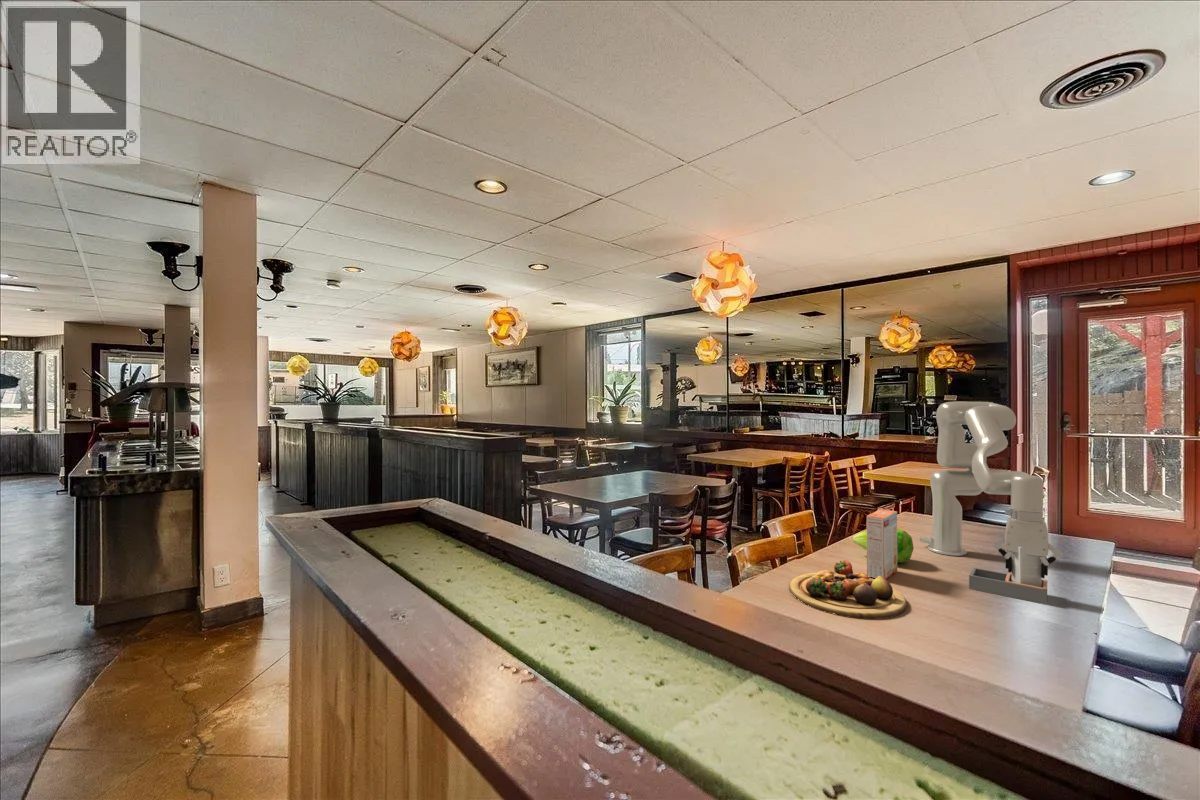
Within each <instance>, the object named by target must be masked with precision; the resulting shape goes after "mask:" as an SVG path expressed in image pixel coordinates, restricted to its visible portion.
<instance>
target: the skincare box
mask: <svg viewBox="0 0 1200 800" xmlns="http://www.w3.org/2000/svg"><path fill="white" fill-rule="evenodd" d="M1018 552H1019V553H1013V554H1012V555H1011V559H1012V571H1011V574H1012V582H1015V583H1021V584H1026V585H1031V586H1036V587H1042V579H1043V578H1041V565H1042V560H1041V559H1040V557H1038V556H1031V555H1026V554H1024V548H1023V547H1018Z"/></svg>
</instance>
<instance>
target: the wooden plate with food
mask: <svg viewBox="0 0 1200 800" xmlns="http://www.w3.org/2000/svg"><path fill="white" fill-rule="evenodd" d="M833 568H834V571H833V570H829V569H822V570H819V571H817V572H810V573H809V572H808V573H803V574H800V575H798V576H795V577H794V578H792V580H791V581H790V583H789V585H788V590H789V593H790V594H791V593H792V594H793V595H794V596H795V597H796V598H797V599H799V600H800V601H802V602H803V603H802V602H801V603H802V604H804V603H805V604H804V605H806V604H807V605H806V606H808V605H809V606H808V607H810V606H811V607H810V608H812V607H814V608H813V609H815V608H816V609H815V610H818V609H819V610H818V611H821V610H822V611H821V612H824V611H826V612H825V613H828V612H831V613H835V614H839V615H838V616H840V615H844V616H843V617H846V616H849V617H848V618H853V617H854V619H863V618H866V620H867V619H868V620H876V618H882V619H887V618H886V617H889V618H892V617H891V616H893V617H896V616H899V615H901V614H902V613H903V612H904V611H905V610H906V608H907V601H906V598H905V595H904V594H903V593H901V592H900V591H899V590H898V589H896V588H895V587H893V586H892V585H891V583H890V582H889V581H888V579H887V580H886V579H885V578H883V577H881V576H878V577H877V578H875V579H873V578H869V577H868V576H867V573H861V572H857V573H854V571H853V566H852V564H851V562H850V561H848V560H846V559H844V560H840V561H839V562H835V564H834V567H833ZM792 594H791V595H792ZM793 595H792V596H793ZM794 596H793V597H794ZM795 597H794V598H795ZM796 598H795V599H796ZM797 599H796V600H797ZM800 601H799V602H800ZM831 613H830V614H831ZM835 614H834V615H835ZM898 614H899V615H898ZM895 615H896V616H895Z"/></svg>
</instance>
